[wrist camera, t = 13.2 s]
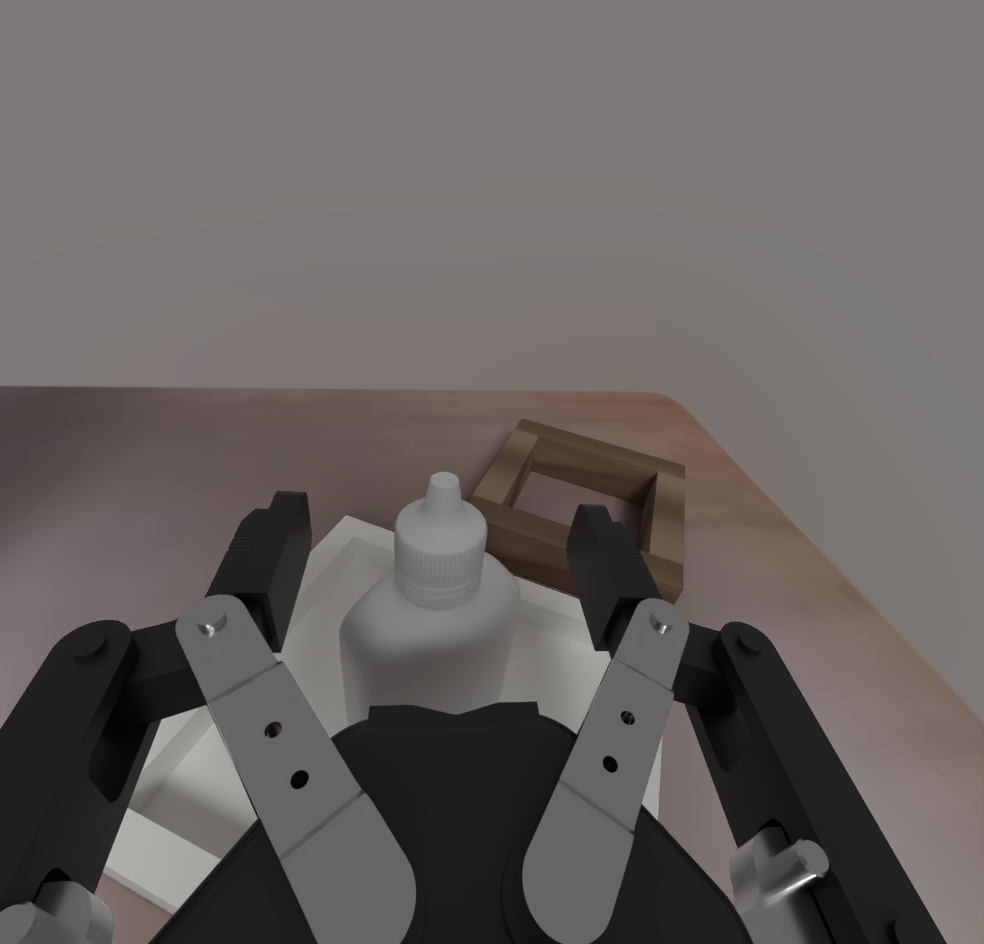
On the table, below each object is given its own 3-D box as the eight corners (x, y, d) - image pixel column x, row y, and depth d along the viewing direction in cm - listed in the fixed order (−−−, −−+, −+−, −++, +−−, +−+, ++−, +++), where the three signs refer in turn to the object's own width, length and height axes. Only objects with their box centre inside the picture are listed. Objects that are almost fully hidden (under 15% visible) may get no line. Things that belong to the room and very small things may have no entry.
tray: (607, 1175, 12) (639, 1183, 10) (76, 856, 15) (42, 828, 13) (649, 661, 23) (667, 631, 22) (348, 548, 27) (346, 514, 25)
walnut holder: (662, 626, 25) (682, 589, 23) (455, 551, 28) (460, 513, 26) (670, 499, 35) (685, 465, 33) (515, 451, 37) (521, 418, 35)
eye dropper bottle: (356, 685, 20) (334, 432, 13) (490, 673, 21) (535, 435, 14) (347, 805, 16) (309, 545, 9) (509, 784, 17) (580, 538, 10)
